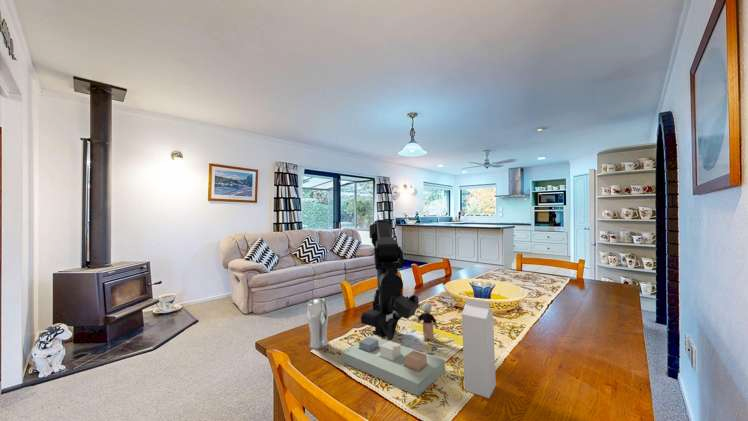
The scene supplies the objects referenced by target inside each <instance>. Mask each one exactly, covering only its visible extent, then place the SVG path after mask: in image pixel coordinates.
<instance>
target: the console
mask: <svg viewBox="0 0 748 421" xmlns="http://www.w3.org/2000/svg"><path fill="white" fill-rule="evenodd" d="M369 337H370V338H373V339H376V340H378V345H379V348H377V349H376V350H374V351H372V352H371V353H368V352H366V351H363V350H360V349H359V342H357V343H355V344H354V345H351V346H349V347H348V348H346V349H344V350H342V351H341V352H340V355H341V357H340V358H341V362H342V363H343V362H344V363H343V364H346V365H348V366H350V367H353V368H355V369H357V370H360V371H361V372H364V373H365V374H368V375H371V376H373V377H374V378H377V379H378V380H381V381H384V382H386V383H388V384H390V385H392V386H394V387H397V388H399V389H402V390H403V391H406V392H408V393H410V394H412V395H414V396H417V397H419V396H420V395H422V393H423V392H425V391H426V390H427V389H428V388H429V387H430V386H431V385H432V384H433V383H434V382H435V381H436V380H438V379H439V377H440V376H442V374H444V373H445V372H446V360H445V359H443V358H439V357H436V356H434V355H431V354H429V353H424V352H423V351H419V350H417V349H413V348H410V347H407V346H404V345H401V357H399V358H398V359H396V360H395V361H393V362H391V361H389V360H386V359H384V358H381V349H380V346H381V345H383V344H384V343H386V342H388V341H389V340H386V339H383V338H380V337H377V336H373V335H370V336H369ZM413 350H414V351H417V352H420V353H423V354H426V357H427V366H426V367H425V368H423V369H422V370H421V371H420V372H417V371H415V370H412V369H410V368H407V367H405V356H406V355H407V354H409V353H410V352H412V351H413Z"/></svg>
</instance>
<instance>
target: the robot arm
mask: <svg viewBox="0 0 748 421" xmlns="http://www.w3.org/2000/svg"><path fill="white" fill-rule="evenodd" d="M393 230H394V229H393V224H392V223H390V220H389V219H376V220H374V223H372V224H370V225H369V239H370V240H371V243H372V246H373V256H374V257H373V258H374V260H373V261H374V267H375V268H374V269H375V270H376V281H377V282H376V284H377V289H376V290H375V293H374V295H373V301H372V302H371V303H372V304H371V308H370V309H368V310H367V311H364V312H362V314H361V315H360V323H361V324H363V325H367V326H370V327H374V330H372V334H375V335H377V336H381V337H383V338H387V341H392V342H393V340H394V336H395V333H396V332H397V326H398V323H399V321H400V320H401V319H402V318H403V319H407V320H408V319H410V318H411V317H413V316H415V315H416V311H417V309H419V308H420V305H419V304H420V302H419V297H418V296H417V295H416V294H413V295H410V296H405V295H404V294H403V288H404V281H403V280H402V278H401V276H400V275H399V271H398V269H404V265H405V258H404V253H403V249H402V248H401V246H399V244H398V241H397V239H394V238H393V235H394V234H393Z"/></svg>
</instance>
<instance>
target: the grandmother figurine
mask: <svg viewBox="0 0 748 421" xmlns="http://www.w3.org/2000/svg"><path fill="white" fill-rule="evenodd" d="M421 311H423V313H421V314H420V315H418V317H417V320H416V323H418V324H420V323H421V321H422V332H423V338H422V341H423V342H429V343H436V342H437V339H436V338H435V334H434V328H436V329H437V328H438V327H439V325H438V323H437V322H438V321H437V320H436V318H435V317H434V315H433V314H431V311H432V304H431V303H430V302H429V303H428V302H426V303H424V304H423V305H422V306H421Z"/></svg>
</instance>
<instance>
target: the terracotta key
mask: <svg viewBox="0 0 748 421" xmlns="http://www.w3.org/2000/svg"><path fill="white" fill-rule="evenodd" d="M414 350H415V349H413V351H412V352H410V353H409V354H407V355H406V356H405V367H407V368H410V369H412V370H415V371H417V372H420V371H421V370H422V369H423V368H425V367H426V366H427V357H426V354H427V353H426V354H423V353H424V352H423V353H420V352H421V351H420V352H417V351H418V350H416V351H414Z"/></svg>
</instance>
